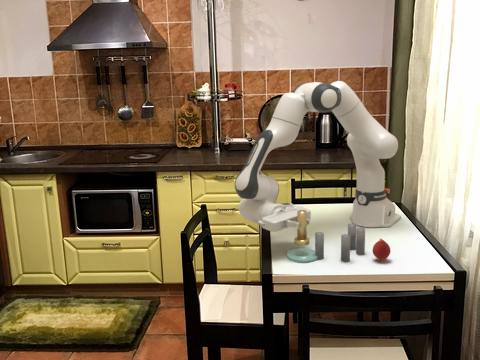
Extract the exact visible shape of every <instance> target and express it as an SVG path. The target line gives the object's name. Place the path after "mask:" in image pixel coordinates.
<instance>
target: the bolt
mask: <svg viewBox="0 0 480 360" xmlns="http://www.w3.org/2000/svg"><path fill="white" fill-rule="evenodd" d="M297 222H300V223H301V227H299V228H296V229H297V231H296V232H297V235H296V236H295V237H294V238H293V240H294V242H293V243H294V244H295V245H297V246H301V247H302V246H308V245H309V244H310V238H309V237H307V236H308V235H307V232H308V231H307V229H308V228H307V227H308V225H307V211H306V210H298V211H297Z"/></svg>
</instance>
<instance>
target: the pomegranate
mask: <svg viewBox="0 0 480 360" xmlns="http://www.w3.org/2000/svg"><path fill="white" fill-rule="evenodd" d="M372 254H373V256H374V257H375V258H376V259H378V261H379V262H382V261H384V260H386V259H388V258H389V256H390V255H391V247H390V245H389V244H388V242H386V241H385V240H384V239H383V238H381V237H380V238H379V240H378V241H376V242H375V244H373V247H372Z"/></svg>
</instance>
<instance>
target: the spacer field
mask: <svg viewBox="0 0 480 360" xmlns="http://www.w3.org/2000/svg"><path fill="white" fill-rule="evenodd" d="M340 236H341V237H340V238H341V239H340V261H341V262H342V263H349V262H350V260H351V259H350V258H351V251H355V254H356V255H358V256H363V255H365V254H366V253H365V251H366V228H365V227H358V228H357V225H356V224H354V223H348V224H347V233H344V234H341V235H340ZM314 250H315V255H316V256H317V260H324V258H325V254H324V253H325V233H324V232H322V231H317V232H315V233H314Z"/></svg>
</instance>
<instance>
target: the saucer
mask: <svg viewBox="0 0 480 360" xmlns="http://www.w3.org/2000/svg"><path fill="white" fill-rule="evenodd" d="M286 258H287V259H288V260H289V261H291V262H295V263H299V264H307V263H313V262H315V261H317V260H318V259H317V256H316V255H315V249H312V248H307V247H297V248H292V249H290V250H288V251H287V252H286Z"/></svg>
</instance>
